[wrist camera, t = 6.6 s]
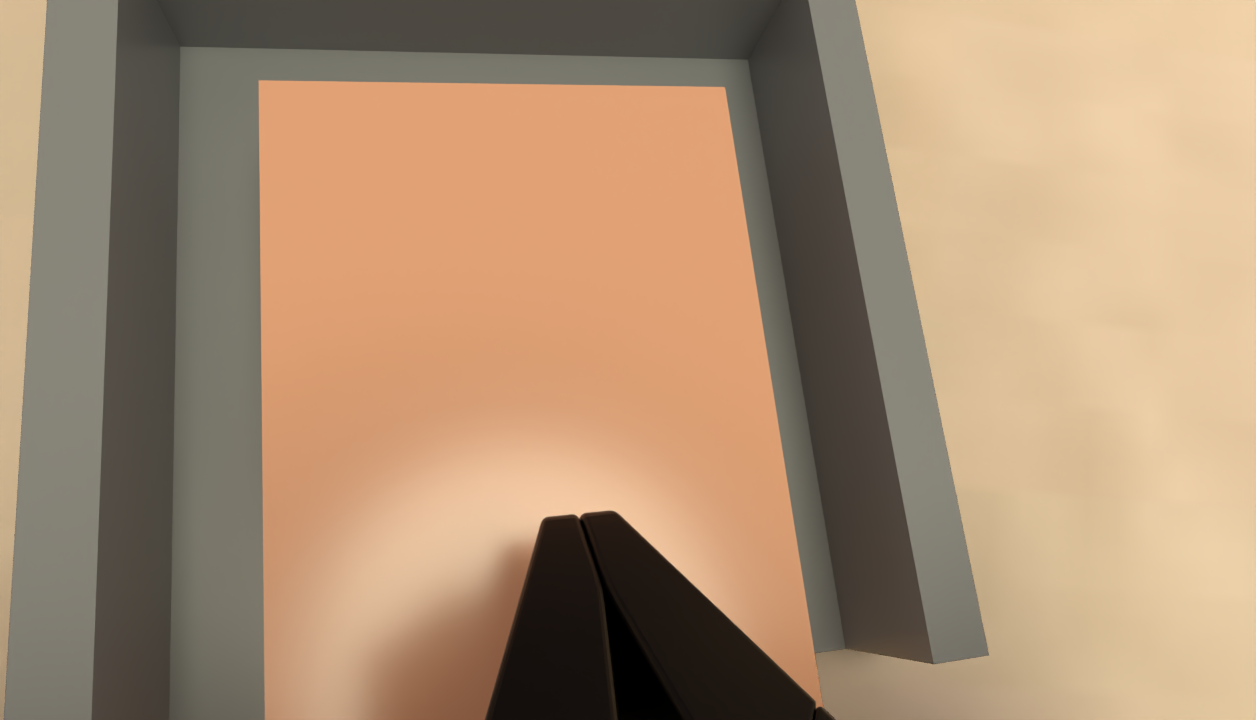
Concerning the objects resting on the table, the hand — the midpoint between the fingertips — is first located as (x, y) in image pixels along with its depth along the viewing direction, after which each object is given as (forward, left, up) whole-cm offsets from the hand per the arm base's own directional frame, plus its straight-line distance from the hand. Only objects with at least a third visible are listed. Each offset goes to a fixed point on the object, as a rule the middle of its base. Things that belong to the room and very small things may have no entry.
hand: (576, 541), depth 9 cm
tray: (+3, +2, -7) cm, 8 cm away
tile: (-3, -2, -5) cm, 6 cm away
